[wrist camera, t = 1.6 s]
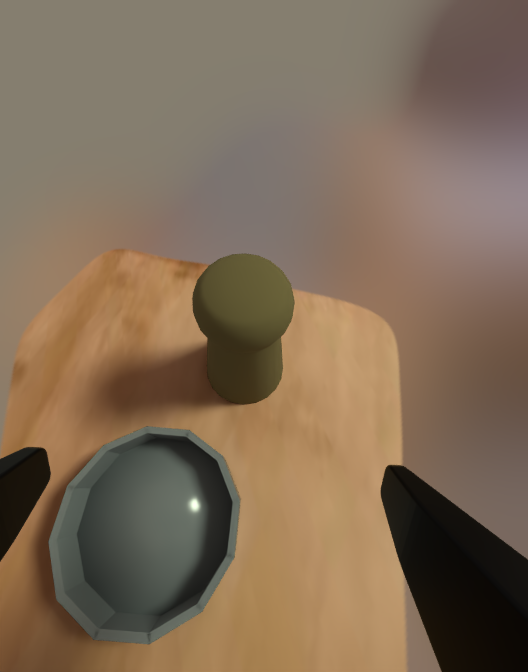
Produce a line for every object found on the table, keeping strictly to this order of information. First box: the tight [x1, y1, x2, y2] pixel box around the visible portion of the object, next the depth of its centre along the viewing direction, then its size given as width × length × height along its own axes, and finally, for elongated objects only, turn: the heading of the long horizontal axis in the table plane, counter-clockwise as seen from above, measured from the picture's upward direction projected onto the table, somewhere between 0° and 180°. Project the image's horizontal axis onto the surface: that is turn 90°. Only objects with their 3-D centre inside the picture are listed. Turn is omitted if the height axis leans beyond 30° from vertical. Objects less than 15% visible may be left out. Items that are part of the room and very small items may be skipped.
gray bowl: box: [48, 426, 241, 644], centre depth 18 cm, size 10×10×2 cm
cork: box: [192, 254, 295, 404], centre depth 19 cm, size 6×6×11 cm
